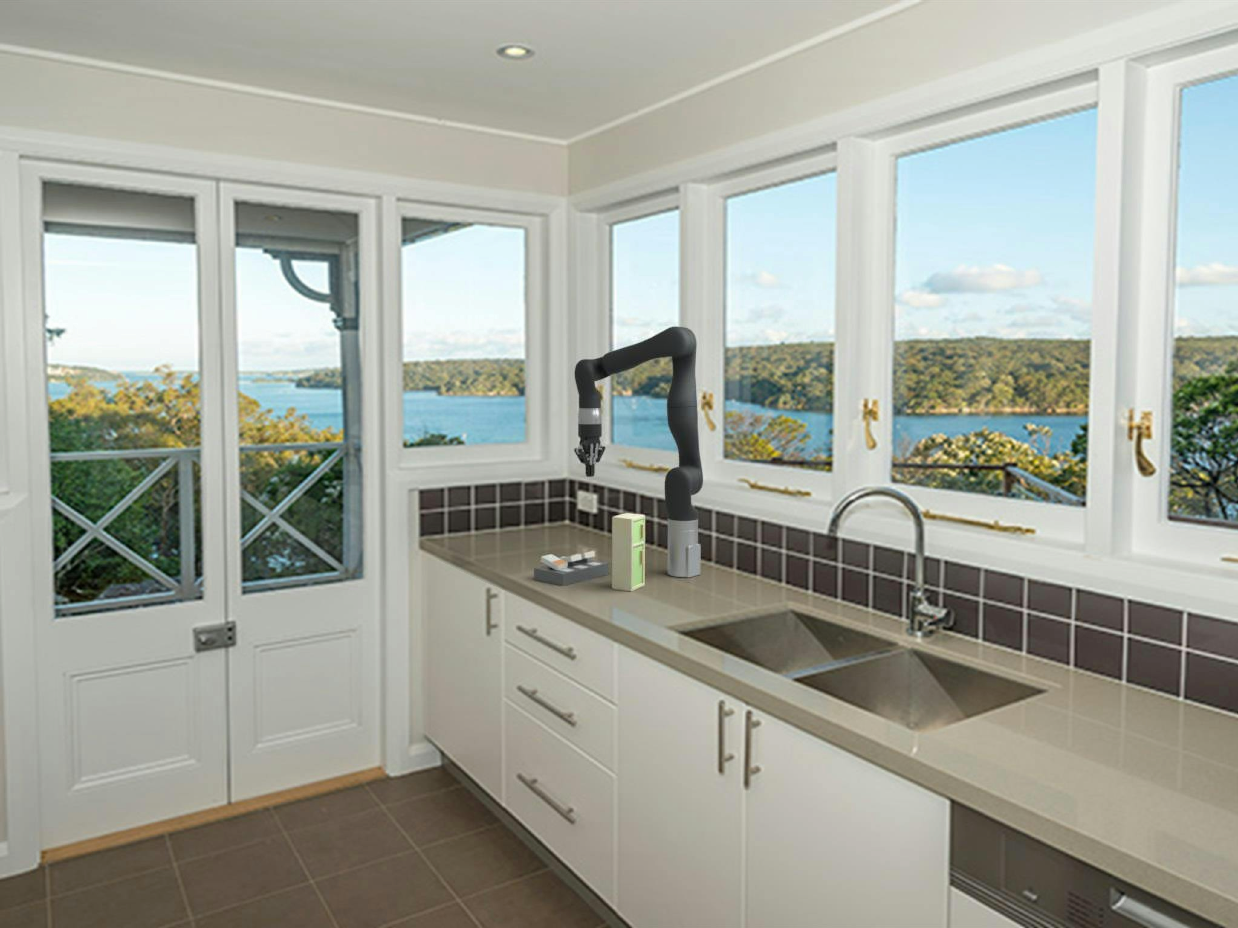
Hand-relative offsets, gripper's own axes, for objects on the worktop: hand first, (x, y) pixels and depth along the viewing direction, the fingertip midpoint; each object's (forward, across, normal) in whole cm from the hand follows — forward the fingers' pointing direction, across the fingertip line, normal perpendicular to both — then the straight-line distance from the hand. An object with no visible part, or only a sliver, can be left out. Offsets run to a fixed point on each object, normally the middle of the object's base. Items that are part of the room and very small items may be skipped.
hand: (590, 476), depth 300 cm
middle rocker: (+23, -18, -7) cm, 30 cm away
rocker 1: (+23, -24, -7) cm, 34 cm away
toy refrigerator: (+29, -17, -30) cm, 45 cm away
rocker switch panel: (+28, -16, -8) cm, 34 cm away
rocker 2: (+23, -12, -7) cm, 27 cm away
